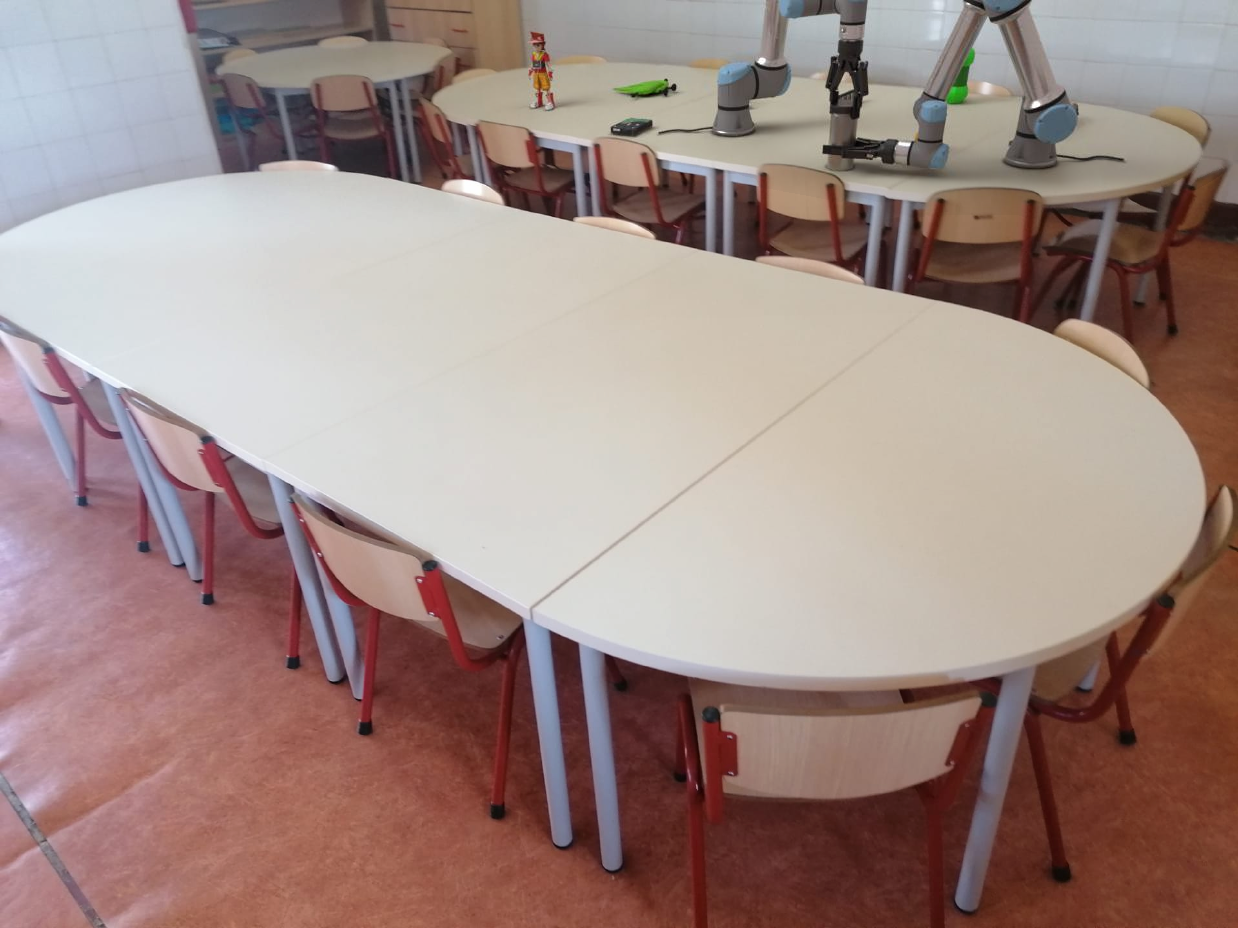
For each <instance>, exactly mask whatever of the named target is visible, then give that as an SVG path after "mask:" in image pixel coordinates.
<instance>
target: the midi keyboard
mask: <svg viewBox="0 0 1238 928" xmlns="http://www.w3.org/2000/svg"><path fill="white" fill-rule="evenodd" d="M855 96H856V95H855V91H854V88H853V89H850V90H848V91H846V92H843V93H839V97H838V100H853V98H854V97H855Z"/></svg>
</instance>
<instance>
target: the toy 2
mask: <svg viewBox="0 0 1238 928" xmlns="http://www.w3.org/2000/svg"><path fill="white" fill-rule="evenodd" d="M669 85H670V83H669V79H668V78H664V79H663V80H649V81H644V82H640V83H634V84H629V85H627V86H621V87H613V88H612V89H613V90H616V91H619V92H623V93H627V94H628V93H629V94H631V95H630V96H631V98H632V99H634V98H636V96H637V95H650V94H652V93H654V94H658V93H662V95H663V96H665V97H667V96H668V95H669V90H671V91H672V92H676V91H677V84H676V83H672V84H671V86H669Z"/></svg>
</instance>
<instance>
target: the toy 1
mask: <svg viewBox="0 0 1238 928" xmlns="http://www.w3.org/2000/svg"><path fill="white" fill-rule="evenodd" d="M529 33H530V35H531V36H528V37H527V38H528V39H529V40H528V41H527V43H529V44H530V43H531V44H532V48H533V50H534V51H533V52H532V55H531V58H530V59H531V63H530V66H528V74H527V75H528V76H527V77H528V79H529V80H531V75H532V74H533V84H532V85H533V86H532V87H533V88H534V89H535V90H536V92H534V95H535V97H536V100H535V101H533V102H531V105H530V108H531V109H535V108H538V107H542V106H544V101H543V100H544V99H543V95H544V92H546V94H545V97H546V99H547V103H546V104H545V106H544V110H546V111H549V110H553V109H554V107H555V106H556V105H555V99H554V92H551V91H550V90H551V86H552V84H551V82H552V81H553V80H554V77H553V73H554V71H555V70H554V69H552V68H551V63H550V61H551V59H550V58H551V57H550V54H549V53H548V52H547V50H546V48H545V46H546V44H547V41H545V35H544V33H543V32H542V33H539V32H535V31H529Z"/></svg>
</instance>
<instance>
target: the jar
mask: <svg viewBox="0 0 1238 928" xmlns="http://www.w3.org/2000/svg"><path fill="white" fill-rule="evenodd" d="M851 118H852V114H836V113H831V114H830V121H829V122H830V123H829V132H828V133H829V134H828V145H832V146H843V145H844V148H855V143H856V139H857V132H858V121H859V118H858V119H854V120H852V119H851ZM841 157H842V156H839V155H829V154H827V161H826V168H827V169H828V170H832V171H848V170H851V169H853V168H854V162H855V159H847V158H841Z"/></svg>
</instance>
